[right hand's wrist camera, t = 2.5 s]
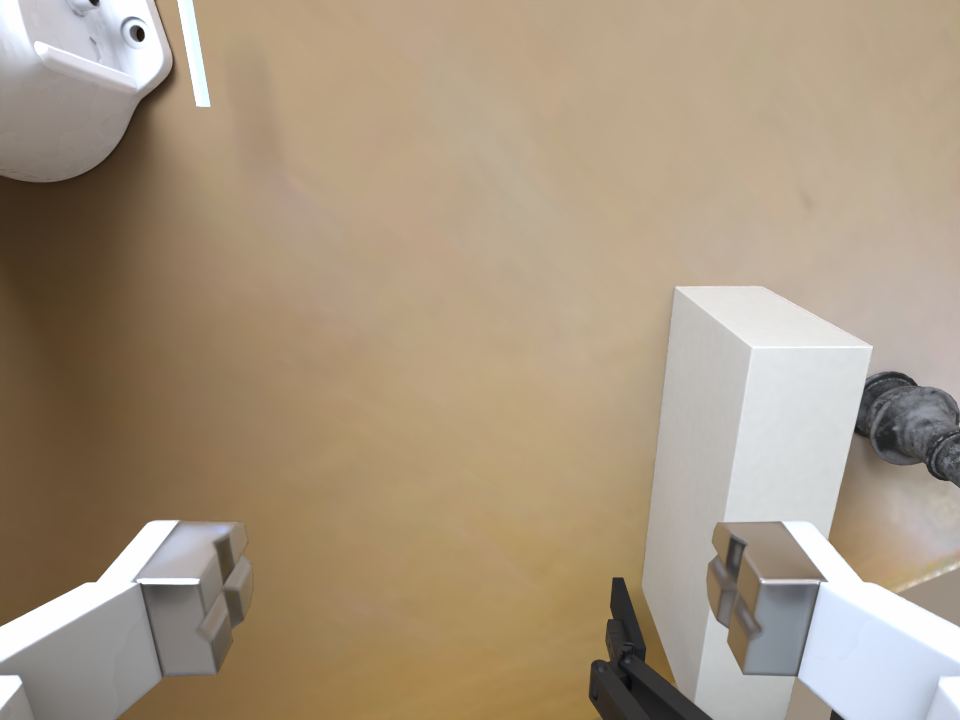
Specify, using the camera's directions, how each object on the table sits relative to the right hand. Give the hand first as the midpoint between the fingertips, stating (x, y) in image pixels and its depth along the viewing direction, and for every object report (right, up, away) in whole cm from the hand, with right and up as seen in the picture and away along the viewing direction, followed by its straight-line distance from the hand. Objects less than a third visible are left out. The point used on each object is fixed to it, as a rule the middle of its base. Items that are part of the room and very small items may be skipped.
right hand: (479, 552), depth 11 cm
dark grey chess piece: (+29, 0, +34) cm, 45 cm away
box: (+16, -4, +35) cm, 39 cm away
